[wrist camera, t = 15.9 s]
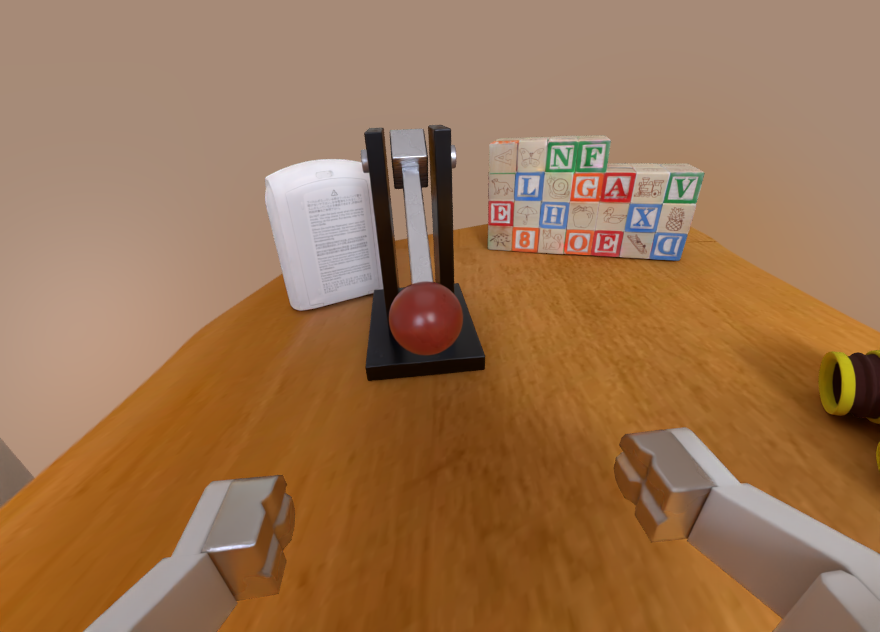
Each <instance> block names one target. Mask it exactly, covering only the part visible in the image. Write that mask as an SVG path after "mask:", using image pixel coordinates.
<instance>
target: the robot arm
mask: <svg viewBox="0 0 880 632" xmlns="http://www.w3.org/2000/svg"><path fill="white" fill-rule="evenodd" d="M619 446H620V447H621V449H622V450H623V452H622V453H621V454H620V455H618V456H617V457H616V459H615V464H614V473H615V479H616V482H617V484H618V487H619V489H620V491H621V493H622V494H623V496H624V498H626V499H627V500H629V501H630V502H632V503H633V504H634V505H636V507H635V516H636V518H637V520H638V521H639V523H640V525H641V526H642V528H643V530H644V531H645V533H646V535H647V536H648V538H649V540H650V541H651V543H652V542H661V541H670V540H680V539H687V541H688V542H689V543H690V544H691V545H693V546H694V547H695V548H696V549H698V550H699V551H700V552H701V553H702V554H704V555H705V556H706V557H707V558H709V559H710V560H711V561H712V562H714V563H715V564H716V565H717V566H719V567H720V568H721V569H722V570H723V571H725V572H726V573H727V574H728V575H730V576H731V577H732V578H733V579H735V580H736V581H737V582H738V583H739V584H741V585H742V586H743V587H744V588H746V589H747V590H748V591H749V592H751V593H752V594H753V595H754V596H755V597H757V598H758V599H759V600H760V601H762V602H763V603H764V604H765V605H767V606H768V607H769V608H770V609H771V610H773V611H774V612H775V613H776V614H778V615H779V616H780V617H781V618H783V619H782V621H781V622H780V623H779V624H778V625H777V627H776V628H775V629H774V630H773V631H772V632H880V554H879V553H877V552H875V551H873V550H871V549H869V548H868V547H866V546H864V545H862V544H860V543H858V542H856V541H854V540H853V539H851V538H849V537H847V536H845V535H843V534H841V533H840V532H838V531H836V530H834V529H832V528H830V527H828V526H826V525H825V524H823V523H821V522H819V521H817V520H815V519H813V518H811V517H810V516H808V515H806V514H804V513H802V512H800V511H798V510H797V509H795V508H793V507H791V506H789V505H787V504H785V503H783V502H782V501H780V500H778V499H776V498H774V497H772V496H770V495H768V494H767V493H765V492H763V491H761V490H759V489H757V488H755V487H754V486H752V485H750V484H748V483H743V484H741V483H740V482H739V481H738V480H737V479H736V478H735V477H734V476H733V475H732V474H731V472H730V471H729V470H728V469H727V468H726V467H725V466H724V465H723V464H722V463H721V462H720V461H719V460H718V458H717V457H716V456H715V455H714V454H713V453H712V452H711V451H710V450H709V449H708V448H707V447H706V446H705V444H704V443H703V442H702V441H701V440H700V439H699V438H698V437H697V436H696V435H695V434H694V433H693V432H692V431H691V430H690V429H688V428H686V427H683V428H674V429H666V430H655V431H647V432H639V433H632V434H625V435H624V436H623V437H622V438H621V441H620V444H619ZM286 486H287V483H286V481H285V479H284V476H283V475H275V476H263V477H252V478H241V479H232V480H222V481H212V482H211V483H210V484H209V485H208V486H207V487H206V488H205V490H204V492H203V494H202V496H201V498H200V500H199V502H198V504H197V506H196V508H195V510H194V512H193V514H192V516H191V518H190V520H189V522H188V524H187V526H186V528H185V530H184V532H183V534H182V536H181V538H180V540H179V542H178V544H177V546H176V548H175V550H174V552H173V554H172V556H171V557H168V558H163V559H162V560H161V561H160V562H159V563H158V564H157V565H155V566H154V567H153V568H152V569H151V570H150V571H149V572H148V573H147V574H146V575H144V576H143V577H142V578H141V579H140V580H139V581H138V582H137V583H136V584H135V585H134V586H132V587H131V588H130V589H129V590H128V591H127V592H126V593H125V594H124V595H123V596H121V597H120V598H119V599H118V600H117V601H116V602H115V603H114V604H113V605H112V606H111V607H109V608H108V609H107V610H106V611H105V612H104V613H103V614H102V615H101V616H100V617H98V618H97V619H96V620H95V621H94V622H93V623H92V624H91V625H90V626H89V627H88V628H86V629H85V630H84V631H83V632H217V631H218V630H219V628H220V627H221V625H222V624H223V623H224V621H225V620H226V619H227V617H228V616H229V615H230V613H231V612H232V611H233V609H234V608H235V606H236V605H237V601H240V600H246V599H252V598H258V597H264V596H270V595H276V594H279V590H280V586H281V582H282V578H283V574H284V570H285V566H286V558H285V556H284V553H283V550H284V548H285V547H286V546H287V545H288V544H289V543H290V541H291V540H292V536H293V531H294V525H295V508H294V502H293V500H292V497H291V496H289V495H288V494H286V493H285V490H286Z"/></svg>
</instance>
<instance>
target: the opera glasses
mask: <svg viewBox="0 0 880 632" xmlns="http://www.w3.org/2000/svg"><path fill="white" fill-rule="evenodd" d="M818 382H819V393H820V399H821V402H822V405H823V407H824V409H825V411H826V412H828V413H829V414H832V415H846V414H847V413H848V412H849V413H851V414H852V415H853V416H854V417H857V418H863V417H867V419H868V420H870V421H871V422H874V423H878V424H880V350H874V351H870V352H868V353H867V354H866V355H864V354H862V353H854V354H852V355H851V356H847V355H846V354H844V353H841V352H828V353H826V354H825V355H824V357H823V359H822V361H821V365H820V369H819V380H818ZM876 461H877V465H878V469H879V472H880V441H879V443H878V446H877V450H876Z"/></svg>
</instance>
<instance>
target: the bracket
mask: <svg viewBox="0 0 880 632" xmlns="http://www.w3.org/2000/svg"><path fill="white" fill-rule="evenodd" d="M428 134H429V155H430V176H431V196H432V218H433V240H434V261H435V282H436V283H438V284H441V285H443V286H445V287H446V288H448V289H449V290H450V291H451V292H452V293H453V294H454V295H455V296H456V297H457V299H458V301H459V303H460V305H461V308H462V313H463V324H462V328H461V331H460V334H459V336H458V338H457V339H456V341H455V342H454V343H453V344H452V345H451V346H450V347H449V348H447V349H446V350H444V351H442V352H440V353H438V354H434V355H418V354H414V353H412V352H410V351H408V350H406V349H405V348H403V347H402V346H401V345H400V344H399V343H398V342H397V341H396V339H395V338H394V336H393V334H392V332H391V329H390V325H389V312H390V308H391V305H392V303H393V301H394V299H395V297H396V296H397V295H398V294H399V292H400V291H402V290H403V289H404V288H399V278H398V268H397V258H396V248H395V238H394V228H393V218H392V208H391V198H390V188H389V177H388V169H387V158H386V147H385V137H384V129H383V128H369V129H368V130H367V131H366V132H365V133H364V135H365V143H366V150H361V162H362V168H363V172H364V173H369V176H370V184H371V192H372V200H373V208H374V217H375V225H376V233H377V241H378V249H379V257H380V266H381V274H382V282H383V289H379V290H374V294H373V303H372V312H371V322H370V331H369V340H368V349H367V358H366V373H367V379H368V381H372V380H382V379H393V378H403V377H414V376H424V375H434V374H445V373H455V372H465V371H476V370H484V369H485V355H484V352H483V349H482V346H481V344H480V341H479V338H478V335H477V333H476V330H475V327H474V324H473V322H472V319H471V316H470V313H469V311H468V308H467V305H466V302H465V300H464V297H463V294H462V291H461V289H460V286H459V283H456V284H454V251H453V208H452V207H453V205H452V204H453V203H452V168H455V167H456V148H455V146H454V145H451V129H450V128H448V127H445V126H443V125H429V126H428Z"/></svg>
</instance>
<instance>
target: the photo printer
mask: <svg viewBox="0 0 880 632" xmlns="http://www.w3.org/2000/svg"><path fill="white" fill-rule="evenodd" d="M265 184H266V193H265V203H266V208H267V211H268V215H269V219H270V224H271V227H272V231H273V236H274V240H275V244H276V248H277V252H278V256H279V260H280V264H281V269H282V273H283V277H284V281H285V285H286V289H287V293H288V297H289V301H290V305H291V306H292V307H293V308H294V309H296V310H299V311H303V310H308V309H314V308H318V307H322V306H326V305H330V304H334V303H337V302H341V301H345V300H349V299H353V298H356V297H360V296H364V295H368V294H372V293H374V290H379V289H383V282H382V274H381V266H380V257H379V249H378V241H377V233H376V225H375V217H374V208H373V200H372V192H371V184H370V176H369V173H364V172H363V168H362V163H361V162H357V161H351V160H343V159H322V160H313V161H307V162H302V163H299V164H295V165H292V166H289V167H286V168H284V169H281V170H279V171H277V172H275V173H273V174H270V175H269V176H267V177H265Z"/></svg>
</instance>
